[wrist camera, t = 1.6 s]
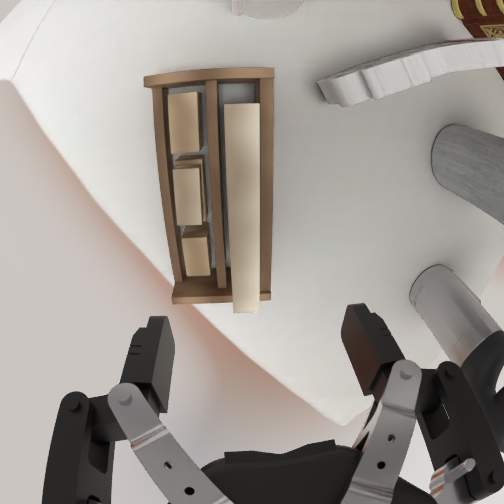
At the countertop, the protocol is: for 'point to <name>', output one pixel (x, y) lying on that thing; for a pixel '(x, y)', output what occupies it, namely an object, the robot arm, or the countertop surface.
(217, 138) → the rack
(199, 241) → the offcut
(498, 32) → the decorative book
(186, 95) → the offcut
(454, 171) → the vase
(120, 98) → the countertop surface
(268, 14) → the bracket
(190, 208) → the upper offcut
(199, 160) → the block
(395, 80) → the decorative sign
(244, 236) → the sheet
